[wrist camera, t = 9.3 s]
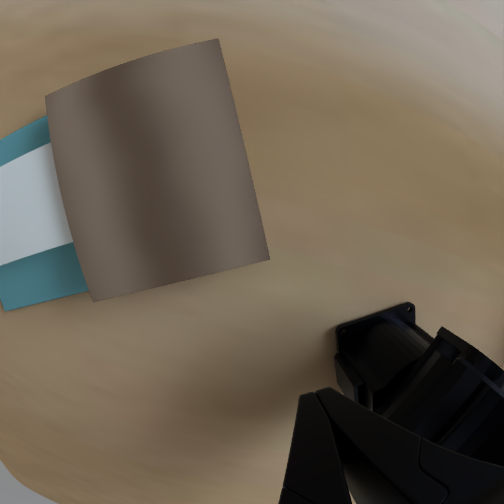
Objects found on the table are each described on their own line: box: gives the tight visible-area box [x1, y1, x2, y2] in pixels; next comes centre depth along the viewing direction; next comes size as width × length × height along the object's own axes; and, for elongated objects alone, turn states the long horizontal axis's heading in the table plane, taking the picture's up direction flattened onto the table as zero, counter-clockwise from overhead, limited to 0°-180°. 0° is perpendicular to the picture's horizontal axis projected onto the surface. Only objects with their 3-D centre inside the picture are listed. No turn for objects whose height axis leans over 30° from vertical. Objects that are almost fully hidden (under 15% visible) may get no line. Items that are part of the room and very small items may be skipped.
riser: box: [45, 39, 270, 302], centre depth 17 cm, size 10×12×4 cm
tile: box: [0, 142, 73, 266], centre depth 16 cm, size 7×6×2 cm
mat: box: [0, 116, 89, 311], centre depth 17 cm, size 10×12×1 cm
